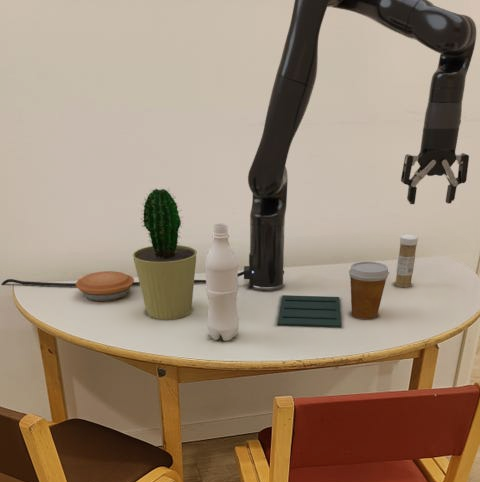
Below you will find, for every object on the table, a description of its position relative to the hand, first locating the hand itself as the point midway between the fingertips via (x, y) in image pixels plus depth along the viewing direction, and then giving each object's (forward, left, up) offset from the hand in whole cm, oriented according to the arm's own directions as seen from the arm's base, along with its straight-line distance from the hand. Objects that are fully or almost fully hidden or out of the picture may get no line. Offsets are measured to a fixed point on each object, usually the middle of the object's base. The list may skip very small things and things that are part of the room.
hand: (429, 203), depth 139 cm
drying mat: (-26, -5, -26) cm, 37 cm away
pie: (-82, +3, -26) cm, 86 cm away
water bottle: (-46, -23, -26) cm, 57 cm away
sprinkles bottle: (-1, +18, -26) cm, 32 cm away
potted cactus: (-62, -8, -26) cm, 67 cm away
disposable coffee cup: (-13, -6, -26) cm, 29 cm away
